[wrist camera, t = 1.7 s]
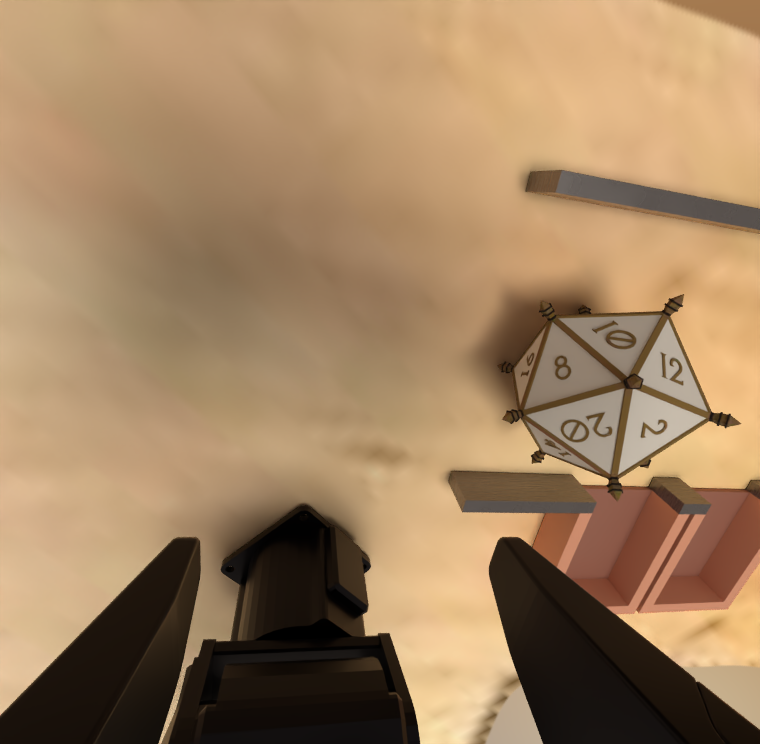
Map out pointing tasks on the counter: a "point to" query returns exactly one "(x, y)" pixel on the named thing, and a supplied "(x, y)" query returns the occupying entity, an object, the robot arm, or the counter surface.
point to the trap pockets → (656, 549)
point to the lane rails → (564, 489)
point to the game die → (608, 390)
